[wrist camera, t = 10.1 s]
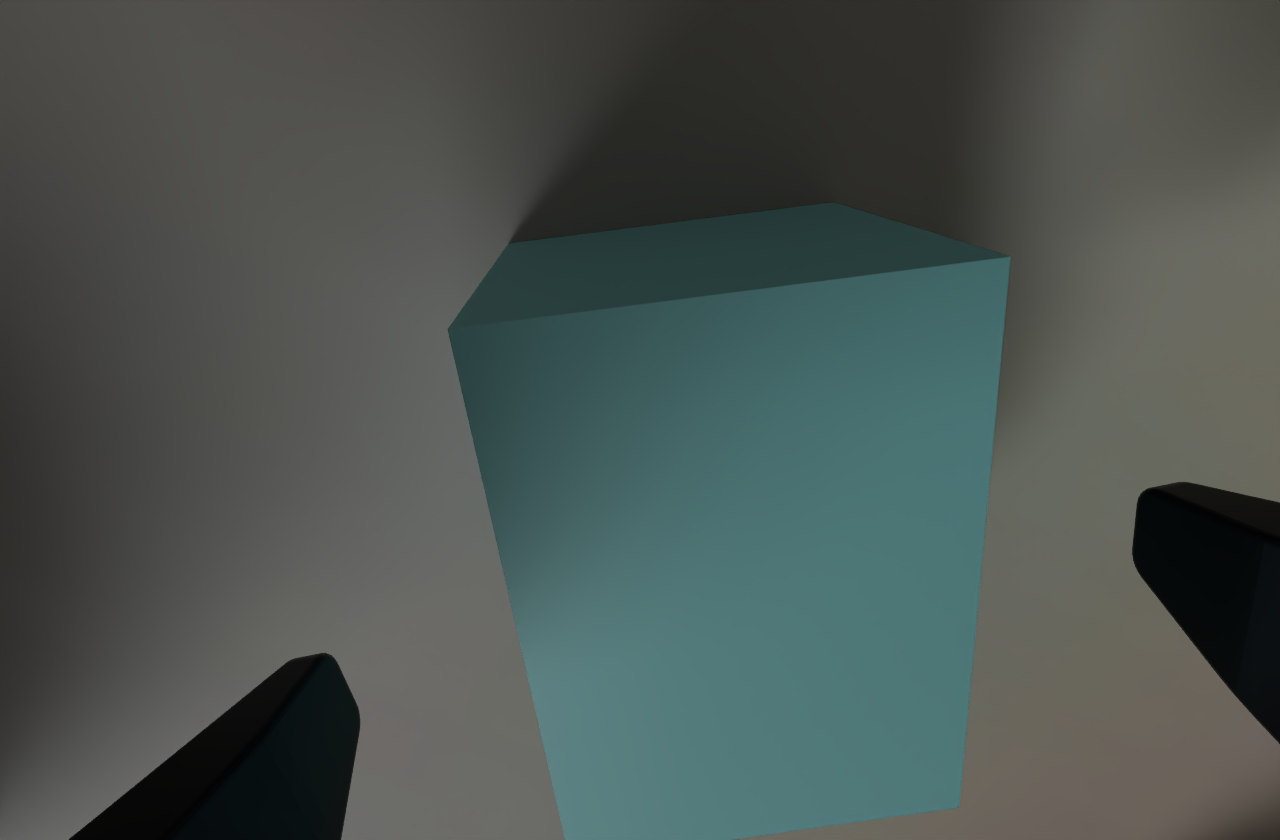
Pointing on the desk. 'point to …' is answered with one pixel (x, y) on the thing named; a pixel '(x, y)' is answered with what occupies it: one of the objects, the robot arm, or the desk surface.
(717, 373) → the teal brick
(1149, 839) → the desk surface
